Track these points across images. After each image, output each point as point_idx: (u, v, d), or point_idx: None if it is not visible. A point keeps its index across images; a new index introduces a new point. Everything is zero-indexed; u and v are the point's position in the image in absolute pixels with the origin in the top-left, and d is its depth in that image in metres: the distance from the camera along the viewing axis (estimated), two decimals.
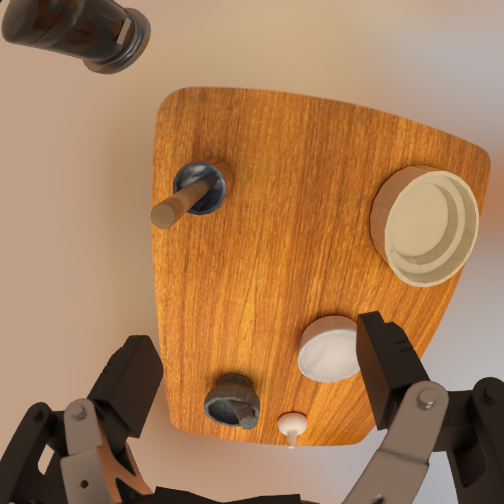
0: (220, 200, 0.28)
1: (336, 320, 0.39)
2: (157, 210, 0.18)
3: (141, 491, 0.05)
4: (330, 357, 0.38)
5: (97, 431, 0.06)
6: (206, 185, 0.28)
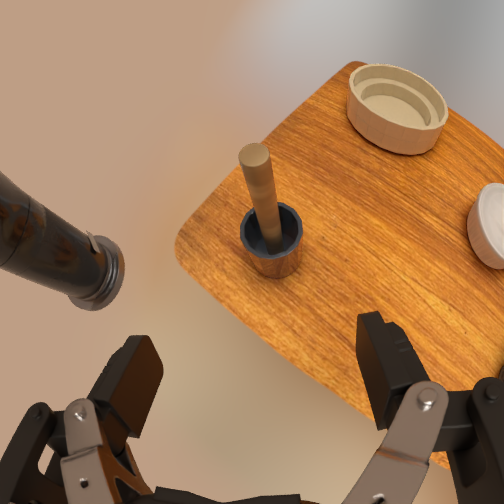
0: (295, 215, 0.25)
1: (471, 211, 0.27)
2: (244, 155, 0.16)
3: (141, 491, 0.05)
4: None
5: (97, 431, 0.06)
6: None
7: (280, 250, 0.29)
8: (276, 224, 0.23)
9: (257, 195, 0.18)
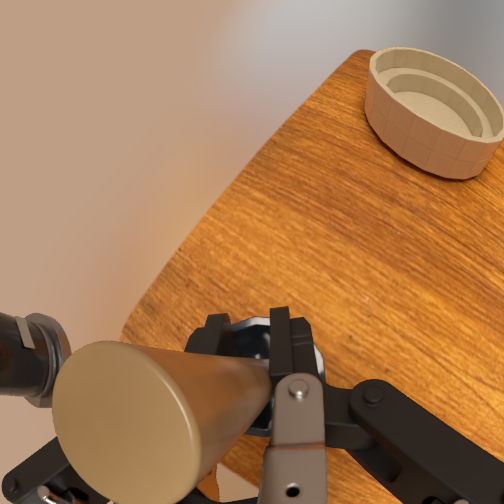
0: None
1: None
2: (71, 423, 0.02)
3: (207, 492, 0.05)
4: None
5: None
6: None
7: None
8: None
9: None
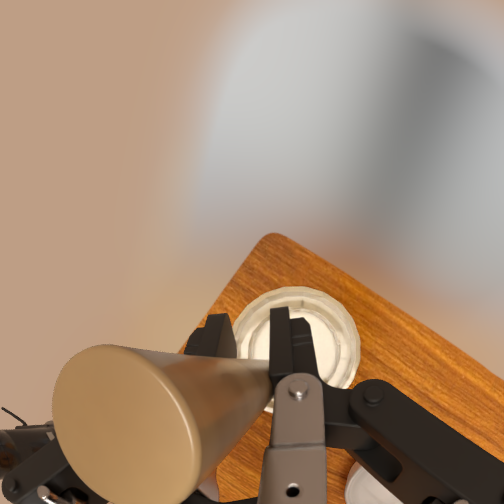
0: None
1: (352, 469, 0.26)
2: (70, 426, 0.02)
3: (207, 492, 0.05)
4: (383, 489, 0.21)
5: None
6: None
7: None
8: None
9: None
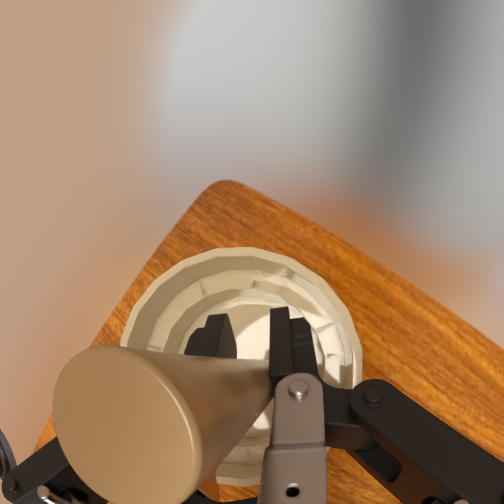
0: None
1: None
2: (71, 427, 0.02)
3: (207, 492, 0.05)
4: None
5: None
6: None
7: None
8: (273, 397, 0.09)
9: None
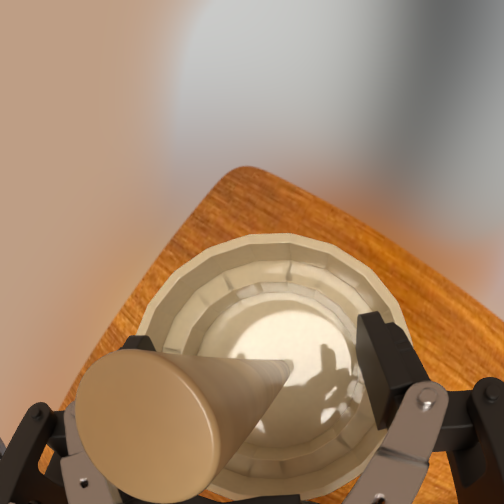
0: None
1: None
2: (94, 427, 0.02)
3: None
4: None
5: None
6: (267, 359, 0.12)
7: None
8: None
9: None
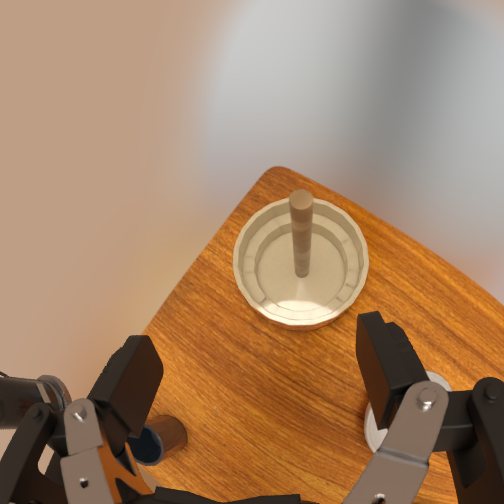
0: (158, 439, 0.24)
1: None
2: (293, 200, 0.20)
3: (141, 491, 0.05)
4: None
5: (97, 431, 0.06)
6: None
7: (307, 269, 0.33)
8: (309, 249, 0.27)
9: (299, 229, 0.23)
